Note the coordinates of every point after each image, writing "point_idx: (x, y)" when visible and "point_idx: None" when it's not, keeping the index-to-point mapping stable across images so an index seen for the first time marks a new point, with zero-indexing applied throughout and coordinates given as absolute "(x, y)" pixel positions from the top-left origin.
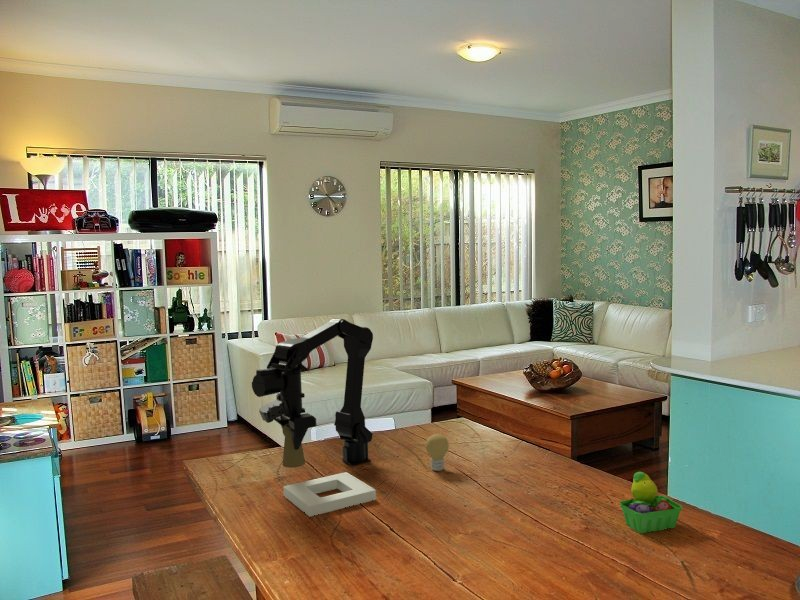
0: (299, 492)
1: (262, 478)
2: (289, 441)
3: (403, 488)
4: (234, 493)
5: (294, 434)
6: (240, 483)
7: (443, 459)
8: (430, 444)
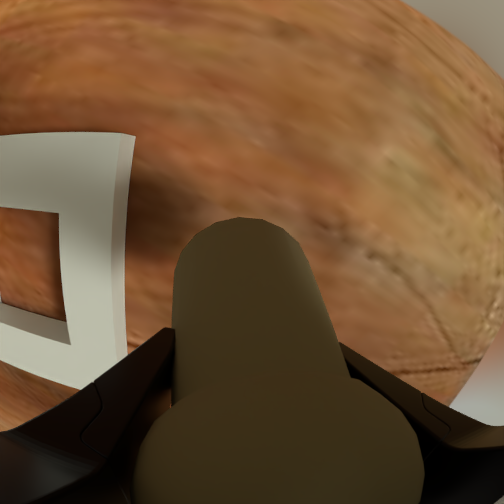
0: (25, 162)
1: (382, 182)
2: (206, 349)
3: (32, 408)
4: (314, 19)
5: (37, 423)
6: (393, 94)
7: None
8: None
